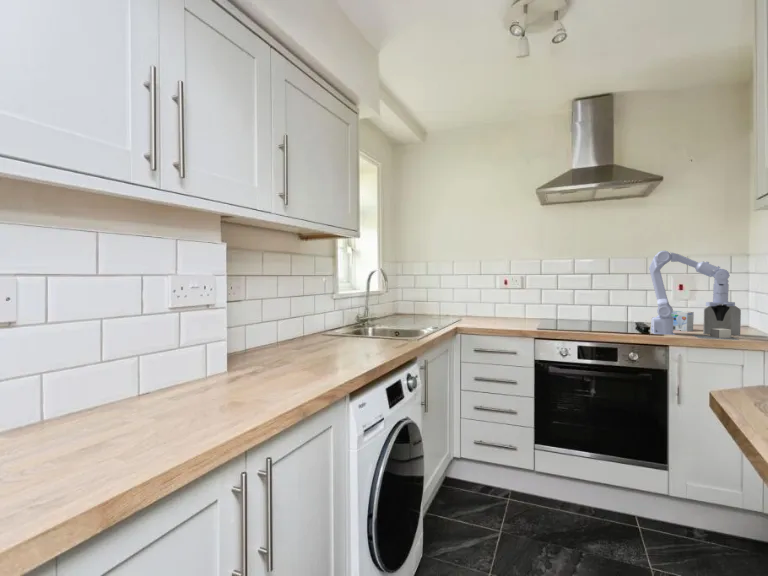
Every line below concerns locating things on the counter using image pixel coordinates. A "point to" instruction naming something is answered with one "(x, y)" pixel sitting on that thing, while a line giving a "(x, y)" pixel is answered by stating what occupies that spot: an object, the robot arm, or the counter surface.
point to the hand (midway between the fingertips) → (719, 320)
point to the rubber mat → (713, 337)
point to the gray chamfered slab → (729, 322)
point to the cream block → (721, 333)
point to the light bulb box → (683, 320)
